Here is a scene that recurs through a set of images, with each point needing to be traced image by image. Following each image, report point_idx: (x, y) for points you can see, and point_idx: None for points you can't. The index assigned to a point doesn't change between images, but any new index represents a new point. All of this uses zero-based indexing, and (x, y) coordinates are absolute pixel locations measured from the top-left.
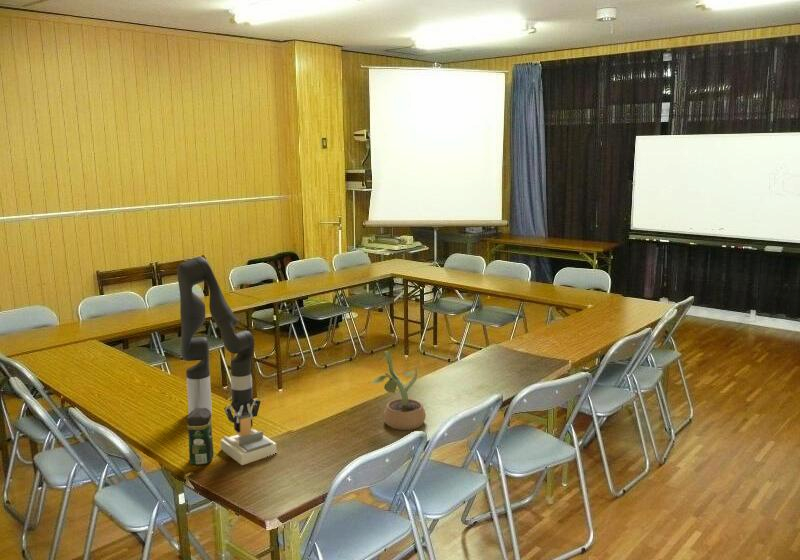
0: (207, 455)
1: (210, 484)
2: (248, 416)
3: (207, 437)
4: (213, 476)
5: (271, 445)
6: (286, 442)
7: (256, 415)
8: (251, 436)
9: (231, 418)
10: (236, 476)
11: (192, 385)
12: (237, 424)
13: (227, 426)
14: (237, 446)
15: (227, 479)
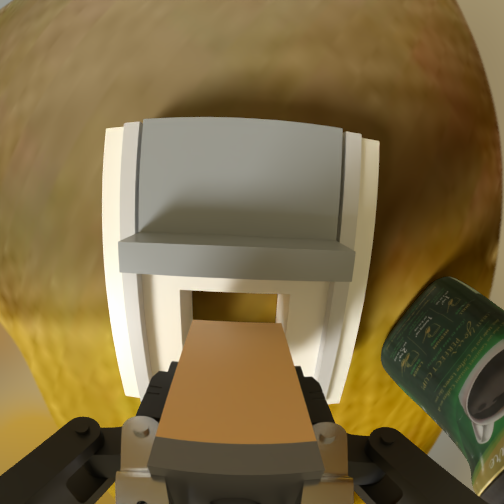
0: (465, 288)
1: (488, 124)
2: (189, 449)
3: None
4: (469, 164)
5: (142, 126)
6: (43, 228)
7: (78, 420)
8: (239, 243)
9: (418, 461)
10: (413, 85)
11: None
12: (314, 418)
13: None
14: (352, 247)
15: (444, 98)
